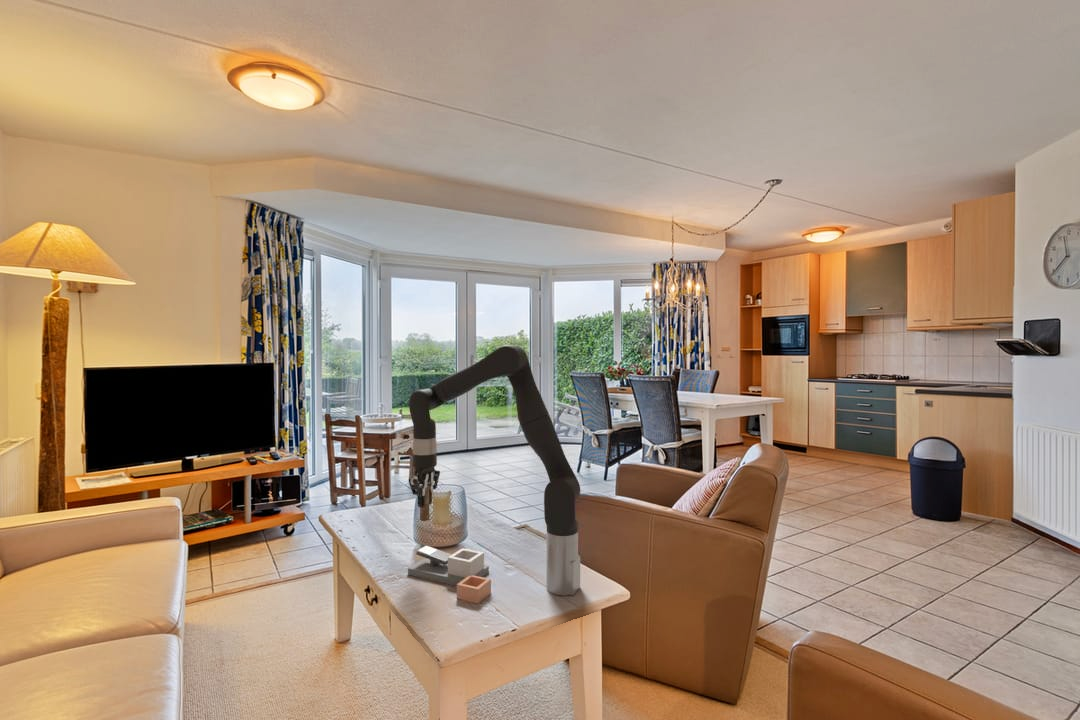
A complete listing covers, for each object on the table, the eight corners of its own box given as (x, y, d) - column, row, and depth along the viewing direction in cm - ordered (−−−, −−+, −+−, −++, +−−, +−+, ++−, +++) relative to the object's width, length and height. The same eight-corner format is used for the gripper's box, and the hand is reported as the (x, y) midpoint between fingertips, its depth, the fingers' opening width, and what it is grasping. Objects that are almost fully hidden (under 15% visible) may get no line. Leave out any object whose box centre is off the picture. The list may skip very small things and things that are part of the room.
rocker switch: (454, 559, 166) (454, 555, 166) (444, 565, 162) (445, 561, 161) (426, 548, 171) (426, 545, 170) (416, 554, 166) (416, 550, 166)
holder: (490, 592, 151) (490, 579, 151) (478, 603, 145) (478, 589, 145) (470, 588, 154) (470, 574, 154) (456, 598, 148) (456, 584, 148)
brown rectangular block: (431, 518, 168) (431, 484, 168) (425, 521, 165) (425, 486, 165) (423, 517, 169) (423, 483, 169) (417, 520, 167) (417, 485, 166)
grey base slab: (488, 572, 165) (488, 550, 165) (467, 588, 154) (467, 564, 154) (431, 560, 174) (431, 539, 174) (408, 574, 163) (407, 552, 163)
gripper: (420, 457, 159) (420, 513, 159) (447, 448, 172) (447, 501, 172) (400, 454, 162) (401, 510, 162) (428, 446, 175) (428, 498, 175)
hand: (424, 505), depth 167 cm, fingers closed on brown rectangular block, 3 cm apart
